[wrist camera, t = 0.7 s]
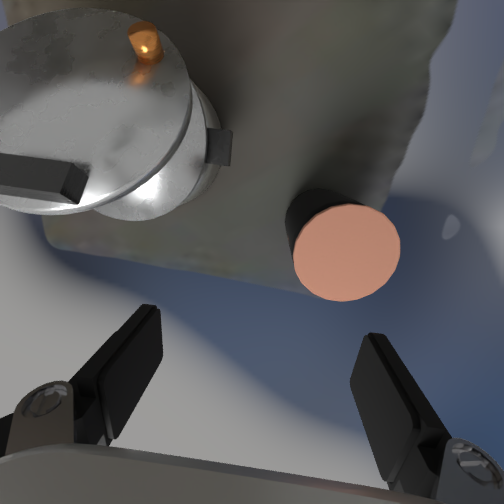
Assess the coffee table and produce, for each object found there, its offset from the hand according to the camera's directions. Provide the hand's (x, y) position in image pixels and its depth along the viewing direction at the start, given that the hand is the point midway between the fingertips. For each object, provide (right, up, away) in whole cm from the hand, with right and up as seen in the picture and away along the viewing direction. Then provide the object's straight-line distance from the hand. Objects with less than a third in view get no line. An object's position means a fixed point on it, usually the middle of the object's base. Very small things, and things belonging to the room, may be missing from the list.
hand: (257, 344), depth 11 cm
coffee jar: (+11, +10, +30) cm, 34 cm away
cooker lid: (-16, +17, +10) cm, 26 cm away
